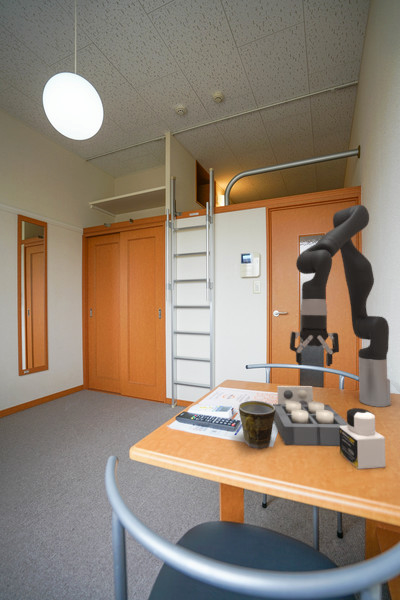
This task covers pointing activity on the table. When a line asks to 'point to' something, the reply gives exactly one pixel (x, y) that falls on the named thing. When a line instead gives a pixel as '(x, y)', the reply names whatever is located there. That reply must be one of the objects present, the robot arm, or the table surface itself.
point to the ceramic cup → (257, 423)
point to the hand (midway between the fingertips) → (313, 365)
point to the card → (295, 394)
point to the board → (308, 428)
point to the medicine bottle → (362, 440)
